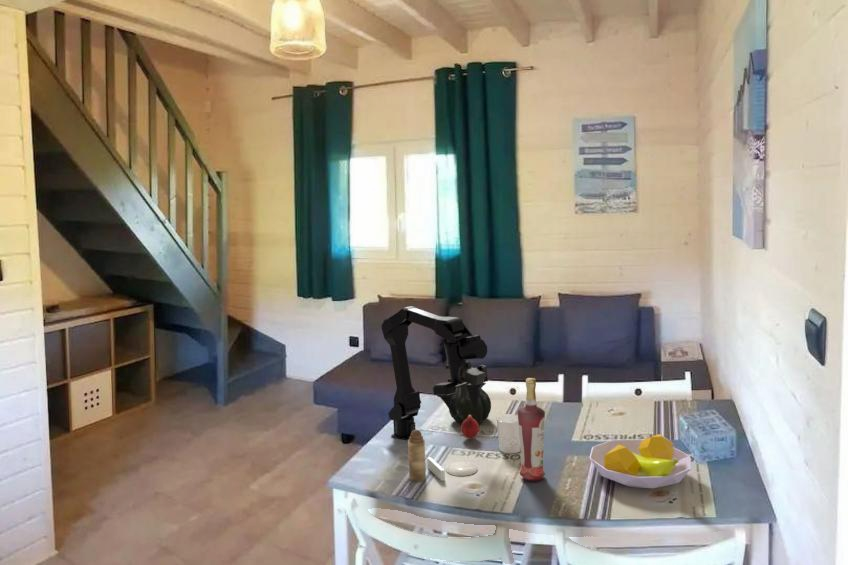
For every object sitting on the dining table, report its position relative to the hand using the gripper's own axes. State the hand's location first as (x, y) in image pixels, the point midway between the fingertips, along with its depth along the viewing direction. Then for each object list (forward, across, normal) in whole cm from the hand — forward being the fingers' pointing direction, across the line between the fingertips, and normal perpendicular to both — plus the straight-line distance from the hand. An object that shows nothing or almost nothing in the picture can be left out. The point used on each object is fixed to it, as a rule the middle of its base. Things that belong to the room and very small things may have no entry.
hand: (465, 411), depth 195 cm
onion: (+12, +12, +11) cm, 20 cm away
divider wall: (+14, -15, +1) cm, 21 cm away
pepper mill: (+14, -20, +3) cm, 25 cm away
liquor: (+18, 0, -20) cm, 28 cm away
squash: (+10, +24, +22) cm, 34 cm away
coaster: (+15, -8, -2) cm, 17 cm away
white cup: (+15, +13, -4) cm, 20 cm away
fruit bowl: (+23, +19, -43) cm, 52 cm away
